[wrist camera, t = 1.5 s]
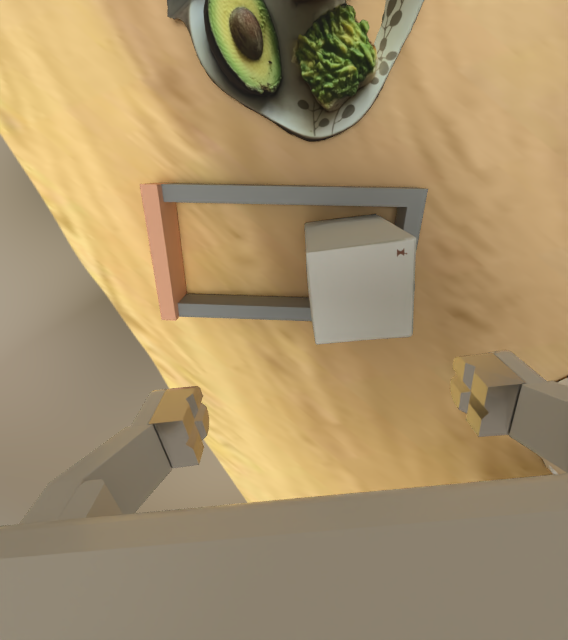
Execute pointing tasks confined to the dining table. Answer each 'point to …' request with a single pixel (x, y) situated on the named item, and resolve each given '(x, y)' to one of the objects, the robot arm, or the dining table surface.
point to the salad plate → (297, 57)
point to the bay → (165, 195)
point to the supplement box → (360, 279)
